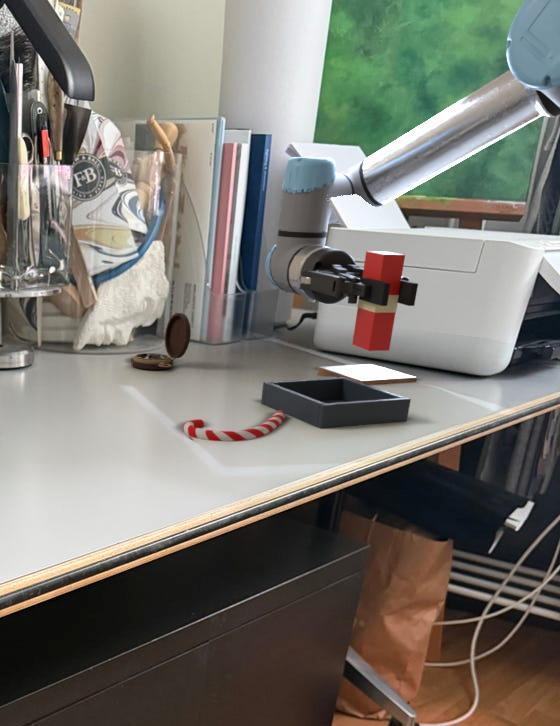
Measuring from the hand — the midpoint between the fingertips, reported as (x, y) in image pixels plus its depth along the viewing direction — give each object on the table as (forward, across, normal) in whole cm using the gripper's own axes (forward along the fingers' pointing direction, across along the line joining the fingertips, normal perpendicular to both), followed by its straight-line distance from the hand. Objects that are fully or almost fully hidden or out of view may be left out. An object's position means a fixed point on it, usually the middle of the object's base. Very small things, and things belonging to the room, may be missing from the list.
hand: (399, 294), depth 119 cm
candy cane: (+20, +27, -12) cm, 36 cm away
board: (-5, 0, -12) cm, 13 cm away
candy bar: (-5, 0, -8) cm, 9 cm away
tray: (+14, +14, -12) cm, 23 cm away
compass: (-16, +27, -12) cm, 33 cm away
